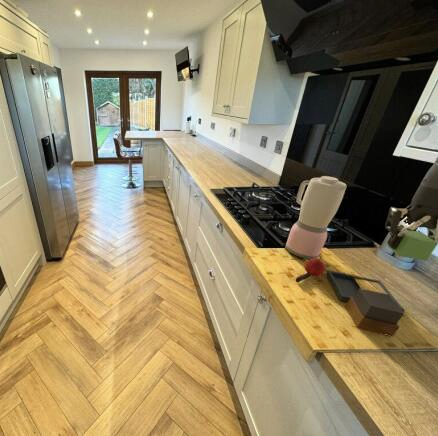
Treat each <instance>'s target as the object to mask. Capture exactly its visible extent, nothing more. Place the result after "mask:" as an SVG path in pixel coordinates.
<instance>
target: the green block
mask: <svg viewBox="0 0 438 436" xmlns="http://www.w3.org/2000/svg"><path fill="white" fill-rule="evenodd" d="M402 237H403V239H402V240H401V242H400V244H399V245H398V247H397V249H392V248H390V247H389V246H388V244H387V243H386V247H388V248H389V249H390V250H391V251H392V252H393V253H394V254H395V255H397V256H398V257H402V258H406V259H407V258H408V259H413V260H420V261H425V262H427V261H428V259H429V258H430V256H431V255H432V253H433V252H434V251H435V249H436V247H437V246H438V243H437V242H436V241H434V240H433V239H431V238H430V237H428V234H425V233H424V232H422V231H415V230H413V231H409V232H408V233H407V234H405V235H404V236H402Z"/></svg>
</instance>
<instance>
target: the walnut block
mask: <svg viewBox="0 0 438 436" xmlns="http://www.w3.org/2000/svg"><path fill="white" fill-rule="evenodd" d="M345 309H346V310H347V313H348V315H349V316H350V318H351V320H352V322H353V323H354V325H355V327H356V329H360V330H364V329H365V330H364V331H368V330H369V331H368V332H372V331H374V332H373V333H375V332H377V333H376V334H379V333H382V334H381V335H383V334H387V335H390V336H389V337H391V336H392V337H393V336H394V335H395V334H396V333H397V331H398V330H399V328H400V327H401V326H400V325H399V322H398V323H397V324H393V323H389V322H385V321H381V320H377V319H372V318H368V317H365V316H364V315H363V313H362V312H361V310H360V308H359V307H358V305H357V303H356V302H355V300H354V298H352V297H351V298H350V299H349V301H348V303H346V305H345ZM387 335H386V336H387Z"/></svg>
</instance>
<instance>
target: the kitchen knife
mask: <svg viewBox="0 0 438 436" xmlns="http://www.w3.org/2000/svg"><path fill="white" fill-rule="evenodd" d="M326 268H327V266H325V269H326ZM311 277H312V276H311V274H310V273H307V272H306V273H303V274H301V275H300V276H297V277H296V278H295V282H296V283H300V282H302V281H305V280H307V279H309V278H311Z"/></svg>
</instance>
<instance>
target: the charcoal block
mask: <svg viewBox="0 0 438 436" xmlns="http://www.w3.org/2000/svg"><path fill="white" fill-rule="evenodd" d="M360 288H361V287H360ZM360 288H359V290H358V292H357V293H356V295H355V297H354V300H355V302H356V303H357V305H358V307H359V308H360V310H361V312H362V313H363V315H364V316H365V317H368V318H372V319H377V320H381V321H385V322H389V323H393V324H397V323H398V324H399V321H400V320H401V318H402V317H403V316H404V315H405V312H404V311H402V310H401V309H400V308H399V306H398V305H397V304H396V303H395V302H394V300H393V299H392V298H391V297H390V295H388V294H387V293H382V292H378V291H373V290H368V289H363V288H361V289H360Z"/></svg>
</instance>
